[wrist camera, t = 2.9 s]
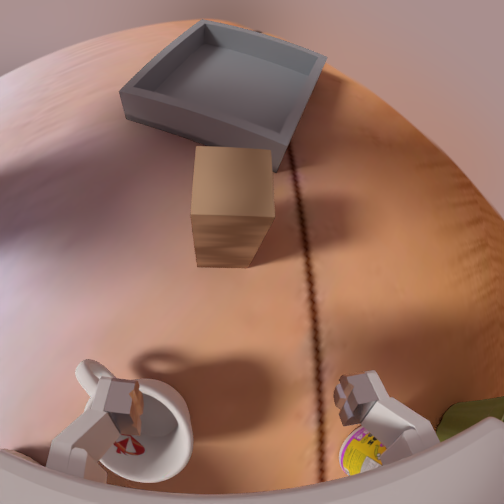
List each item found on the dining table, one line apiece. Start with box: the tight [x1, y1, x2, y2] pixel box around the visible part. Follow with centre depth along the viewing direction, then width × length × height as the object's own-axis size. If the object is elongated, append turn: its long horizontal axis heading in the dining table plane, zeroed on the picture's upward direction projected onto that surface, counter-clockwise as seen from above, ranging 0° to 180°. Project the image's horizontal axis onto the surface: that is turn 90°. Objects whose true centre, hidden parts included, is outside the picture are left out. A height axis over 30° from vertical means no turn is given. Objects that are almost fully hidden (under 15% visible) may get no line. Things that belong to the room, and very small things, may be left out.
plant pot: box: [436, 396, 504, 442], centre depth 20 cm, size 12×12×11 cm
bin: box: [119, 19, 327, 173], centre depth 32 cm, size 20×20×5 cm
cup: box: [75, 359, 193, 483], centre depth 19 cm, size 11×8×8 cm
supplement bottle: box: [339, 426, 387, 476], centre depth 18 cm, size 7×7×13 cm
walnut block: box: [190, 146, 275, 268], centre depth 23 cm, size 5×5×12 cm
